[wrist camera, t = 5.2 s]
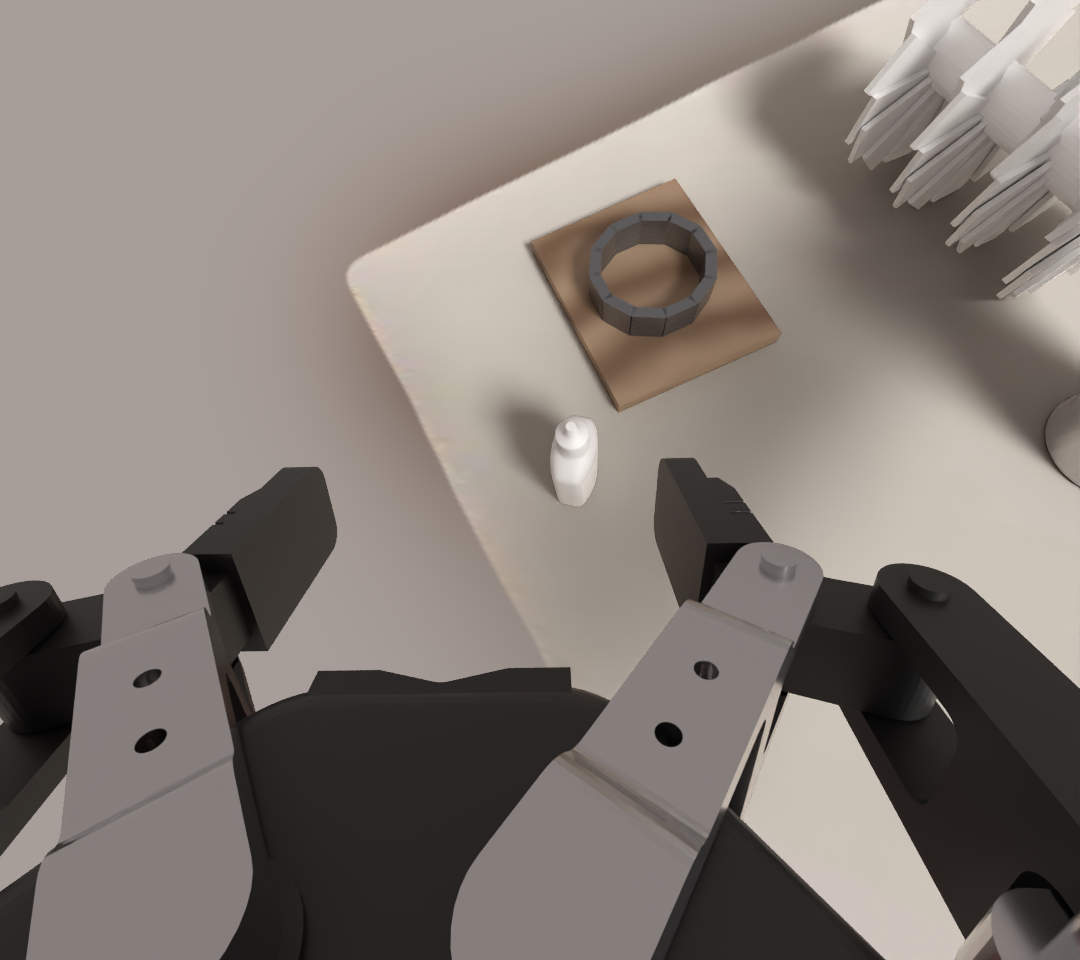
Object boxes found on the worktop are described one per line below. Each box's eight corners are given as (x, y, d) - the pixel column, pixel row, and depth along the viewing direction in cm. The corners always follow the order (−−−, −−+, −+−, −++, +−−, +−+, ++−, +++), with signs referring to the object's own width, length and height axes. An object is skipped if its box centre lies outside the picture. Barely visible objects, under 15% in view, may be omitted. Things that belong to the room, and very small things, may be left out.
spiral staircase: (991, 350, 48) (818, 176, 54) (1215, 207, 42) (991, 27, 48) (1100, 288, 32) (835, 48, 38) (1499, 35, 25) (1102, -206, 31)
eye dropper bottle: (616, 469, 45) (623, 416, 33) (574, 515, 44) (566, 477, 32) (580, 439, 46) (574, 377, 34) (538, 483, 45) (518, 435, 33)
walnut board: (775, 341, 46) (781, 332, 45) (618, 412, 46) (619, 405, 45) (673, 190, 52) (675, 178, 51) (533, 252, 52) (531, 241, 50)
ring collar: (732, 305, 46) (741, 284, 43) (621, 355, 46) (623, 337, 43) (674, 219, 49) (679, 193, 47) (571, 264, 49) (569, 242, 46)
